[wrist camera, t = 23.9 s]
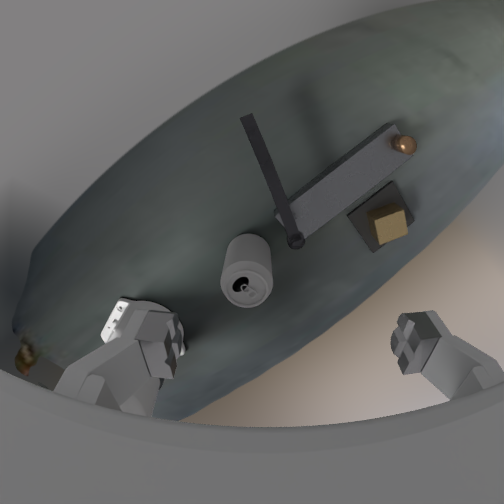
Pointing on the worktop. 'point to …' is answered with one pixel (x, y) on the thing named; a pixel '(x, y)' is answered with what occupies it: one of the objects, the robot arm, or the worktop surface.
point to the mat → (375, 201)
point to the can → (247, 271)
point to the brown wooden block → (387, 223)
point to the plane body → (349, 178)
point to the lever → (273, 182)
